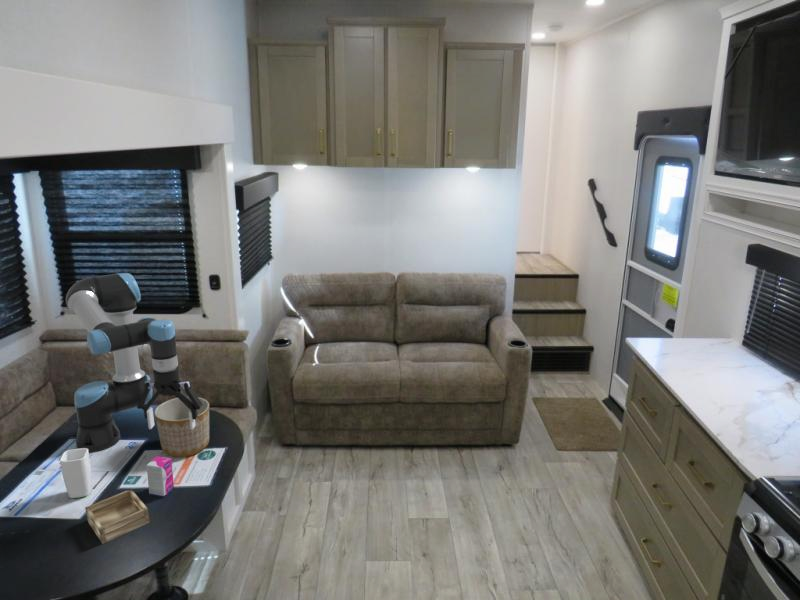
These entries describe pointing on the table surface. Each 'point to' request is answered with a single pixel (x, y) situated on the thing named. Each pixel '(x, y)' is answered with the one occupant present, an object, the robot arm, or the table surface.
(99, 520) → the crate
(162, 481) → the supplement box
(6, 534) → the table surface
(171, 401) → the planter
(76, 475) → the cup
